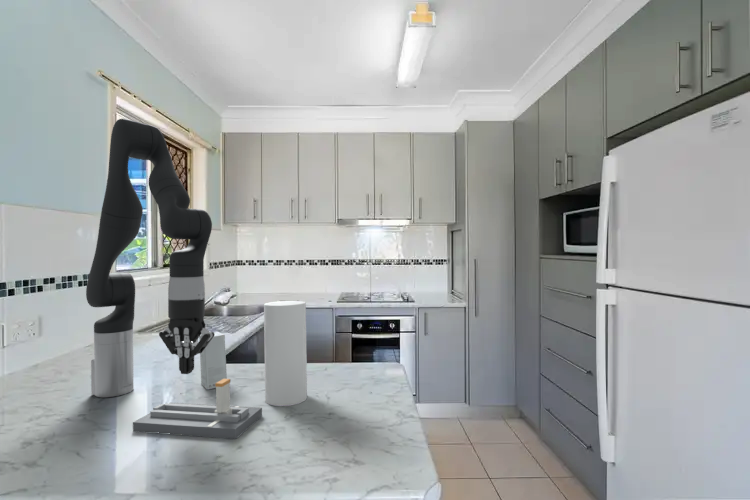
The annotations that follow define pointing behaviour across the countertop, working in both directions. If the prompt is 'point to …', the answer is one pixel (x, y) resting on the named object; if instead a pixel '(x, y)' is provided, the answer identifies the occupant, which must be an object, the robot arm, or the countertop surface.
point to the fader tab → (223, 397)
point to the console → (198, 420)
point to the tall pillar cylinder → (285, 352)
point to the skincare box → (213, 361)
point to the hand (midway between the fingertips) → (186, 373)
